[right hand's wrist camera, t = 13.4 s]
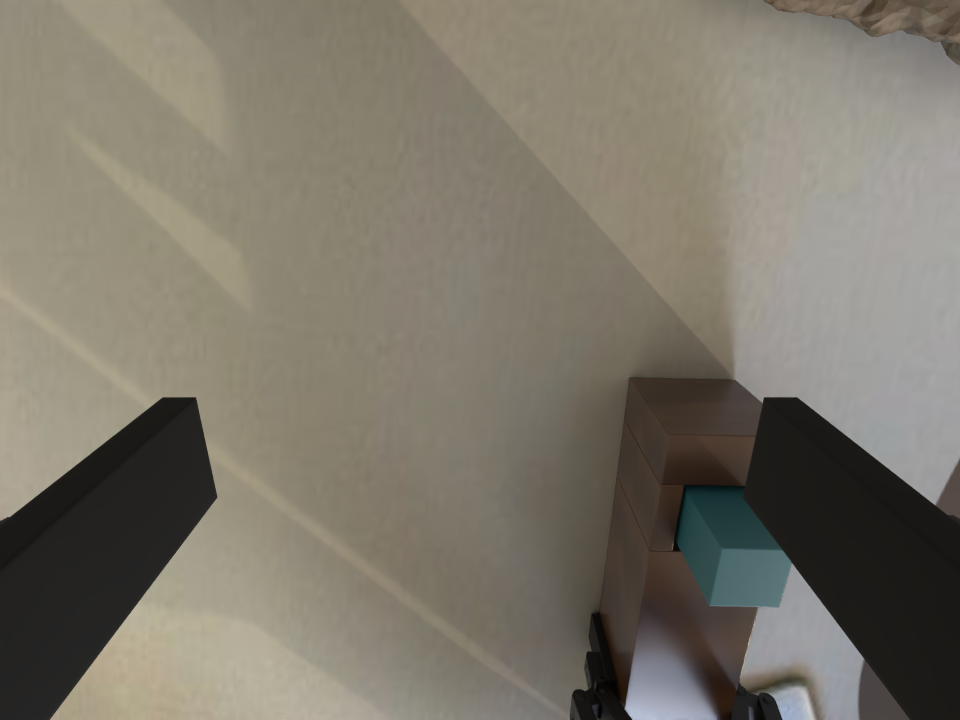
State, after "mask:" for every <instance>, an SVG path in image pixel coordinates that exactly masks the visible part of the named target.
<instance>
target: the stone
mask: <svg viewBox="0 0 960 720" xmlns="http://www.w3.org/2000/svg"><path fill="white" fill-rule="evenodd" d="M764 1H765V2H767V3H769V4H771V5H772V6H773V7H774V8H776V9H777V10H780V11H786V12H792V13H794V12H808V13H812V14H815V15H821V16H830V15H831V16H832V17H833V18H840V19H846V20H849V21H851V22H852V23H853V25H855V26H857V27H859V28H860V29H862V30H864V31H865V32H866V33H867V34H868V35H870V36H872V37H878V36H882V35H885V34H888V33H891V32H894V31H897V30H902V29H903V30H904V31H905V32H906V33H907V34H914V35H919V36H924V37H926V38H928V39H929V40H931V41H933V42H938V41H941V43H942V45H943V48H944V50H945V51H946V54H947V56H948V57H949V58H951V59H952V60H953V61H954V62H955V63H956V64H958V65H960V0H764Z"/></svg>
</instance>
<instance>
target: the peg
mask: <svg viewBox="0 0 960 720" xmlns="http://www.w3.org/2000/svg"><path fill="white" fill-rule="evenodd" d="M744 489H745V487H744V486H720V485H684V489H683V494H682V500H681V505H680V511H679V516H678V522H677V528H676V533H675V541H676V543H677V545H678V546H679V548H680V550H681V552H682V554H683V556H684V558H685V560H686V562H687V564H688V566H689V568H690V570H691V572H692V574H693V576H694V578H695V580H696V582H697V584H698V585H699V587H700V589H701V591H702V593H703V595H704V597H705V599H706V601H707V603H708V605H709V606H741V607H780V603H781V600H782V596H783V593H784V589H785V586H786V582H787V578H788V575H789V571H790V568H791V564H792V562H791V561H790V559H789V558H788V557H787V556H786V554H785V553H784V552H783V550H782V549H781V548H780V546H779V545H778V544H777V542H776V541H775V540H774V538H773V537H772V536H771V534H770V533H769V532H768V530H767V529H766V528H765V526H764V525H763V524H762V522H761V521H760V520H759V518H758V517H757V516H756V514H755V513H754V512H753V510H752V509H751V508H750V506H749V505H748V504H747V502H746V501H745V500H744V498H743V493H744Z"/></svg>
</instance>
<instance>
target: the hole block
mask: <svg viewBox="0 0 960 720" xmlns="http://www.w3.org/2000/svg"><path fill="white" fill-rule="evenodd" d="M762 405H763V403H762V402H760V401H759V400H758V399H757V398H756V397H755V396H753V395H752V394H751V393H750V392H749V391H748V390H746V389H745V388H744V387H743V386H742V385H741V384H739V383H738V382H737V381H736V380H711V379H665V378H630V379H629V387H628V394H627V402H626V410H625V418H624V419H625V420H624V426H623V433H622V441H621V449H620V457H619V465H618V472H617V479H616V487H615V495H614V503H613V510H612V518H611V526H610V534H609V542H608V550H607V557H606V565H605V573H604V581H603V589H602V596H601V604H600V612H599V614H600V616H601V620H602V624H603V628H604V632H605V635H606V639H607V643H608V647H609V651H610V655H611V658H612V662H613V666H614V670H615V674H616V677H617V684H616V691H615V696H616V697H617V699H618V700H619V701H620V703H621V704H622V706H623V707H624V709H625V710H626V711H627V713H628V714H629V715H630V717H631V718H632V720H729V717H730V714H731V711H732V708H733V704H734V700H735V696H736V692H737V688H738V685H739V681H740V677H741V673H742V669H743V665H744V661H745V658H746V654H747V650H748V646H749V642H750V638H751V634H752V631H753V627H754V623H755V619H756V615H757V611H758V607H741V606H709V605H708V603H707V601H706V599H705V597H704V595H703V593H702V591H701V589H700V587H699V585H698V584H697V582H696V580H695V578H694V576H693V574H692V572H691V570H690V568H689V566H688V564H687V562H686V560H685V558H684V556H683V554H682V552H681V550H680V548H679V546H678V545H677V543H676V541H675V533H676V528H677V522H678V516H679V511H680V505H681V500H682V494H683V489H684V485H720V486H744V487H745V484H746V479H747V475H748V470H749V465H750V461H751V456H752V451H753V447H754V442H755V437H756V433H757V428H758V423H759V419H760V414H761V409H762Z"/></svg>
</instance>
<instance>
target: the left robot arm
mask: <svg viewBox="0 0 960 720" xmlns="http://www.w3.org/2000/svg"><path fill="white" fill-rule="evenodd" d="M589 640H590V644H591V649H592V652H587V654H586V660H585V668H584V670H585V675H586V679H587V685H588V690H587V691H583V690H581V689H577V690H575V691H574V692H573V694H572V702H571V711H570V720H632V718H631V717H630V715H629V714H628V713H627V711H626V710H625V709H624V707H623V706H622V704H621V703H620V701H619V700H618V699H617V697H616V696H615V691H616V684H617V677H616V674H615V670H614V666H613V662H612V658H611V655H610V651H609V647H608V643H607V639H606V635H605V632H604V628H603V624H602V620H601V616H600V614H591V623H590V631H589ZM729 720H782V717H781V714H780V712H779V709H778V706H777V703H776V701H775V699H774V698H773V697H772V696H771V695H769V694H767V693H760V694H759V696H758V695H754V694H751V693H749V692H747V690H746V689H745V688H744V687H742V686H741V685H740V683H739V685H738V688H737V692H736V696H735V700H734V704H733V708H732V711H731V714H730V717H729Z"/></svg>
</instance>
